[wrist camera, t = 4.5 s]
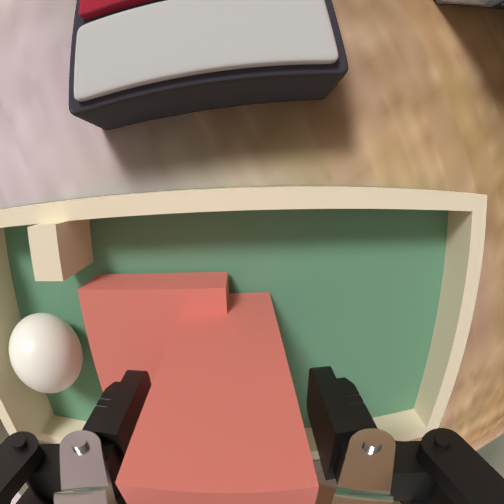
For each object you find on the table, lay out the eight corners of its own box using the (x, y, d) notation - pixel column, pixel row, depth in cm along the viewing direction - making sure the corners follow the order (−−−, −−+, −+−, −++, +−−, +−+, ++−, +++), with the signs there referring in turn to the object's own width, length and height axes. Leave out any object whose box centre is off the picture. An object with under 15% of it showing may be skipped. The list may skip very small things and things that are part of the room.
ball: (2, 341, 9) (-4, 312, 12) (33, 418, 10) (18, 379, 13) (83, 318, 12) (60, 295, 15) (103, 392, 13) (76, 360, 16)
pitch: (451, 190, 14) (515, 198, 10) (416, 405, 18) (449, 452, 13) (1, 209, 14) (-59, 221, 9) (53, 412, 17) (23, 458, 12)
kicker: (268, 269, 14) (325, 451, 4) (269, 399, 15) (294, 576, 5) (98, 274, 13) (-54, 398, 4) (125, 397, 15) (60, 548, 5)
